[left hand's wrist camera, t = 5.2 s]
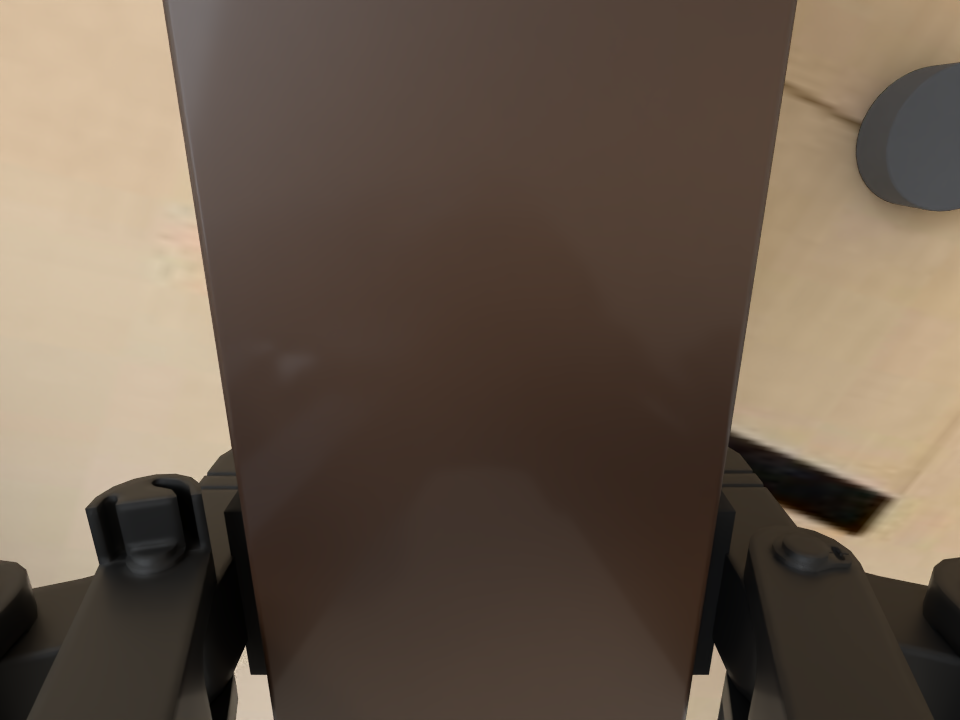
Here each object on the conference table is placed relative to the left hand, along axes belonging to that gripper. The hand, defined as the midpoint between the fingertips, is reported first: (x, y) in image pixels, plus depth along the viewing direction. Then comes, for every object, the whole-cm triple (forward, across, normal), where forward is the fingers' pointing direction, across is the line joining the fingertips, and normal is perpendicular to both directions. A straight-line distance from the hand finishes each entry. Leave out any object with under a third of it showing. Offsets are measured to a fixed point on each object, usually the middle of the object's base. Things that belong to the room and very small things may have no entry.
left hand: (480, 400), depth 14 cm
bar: (0, 0, -8) cm, 9 cm away
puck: (+12, -17, -6) cm, 21 cm away
